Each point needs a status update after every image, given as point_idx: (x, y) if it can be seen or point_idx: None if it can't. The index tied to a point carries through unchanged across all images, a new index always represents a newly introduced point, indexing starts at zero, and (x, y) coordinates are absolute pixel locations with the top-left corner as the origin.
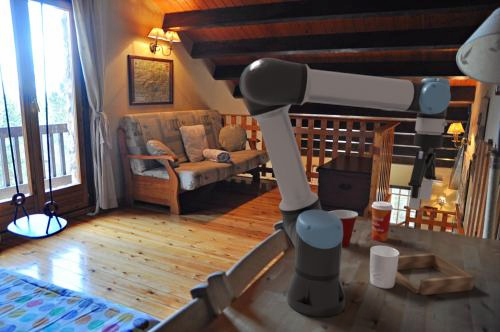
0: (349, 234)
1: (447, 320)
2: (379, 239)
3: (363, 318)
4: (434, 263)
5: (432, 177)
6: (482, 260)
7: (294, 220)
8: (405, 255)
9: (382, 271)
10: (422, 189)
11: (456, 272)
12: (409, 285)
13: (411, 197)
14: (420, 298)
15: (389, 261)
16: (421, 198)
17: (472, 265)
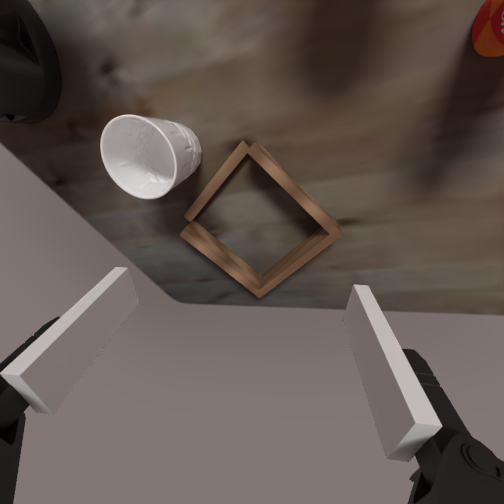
0: None
1: (147, 261)
2: (475, 30)
3: (48, 163)
4: (323, 229)
5: (414, 491)
6: (409, 295)
7: None
8: (287, 177)
9: (135, 161)
10: (372, 335)
11: (277, 271)
12: (192, 204)
13: (57, 317)
14: (176, 224)
15: (125, 180)
16: (353, 292)
17: (372, 282)
